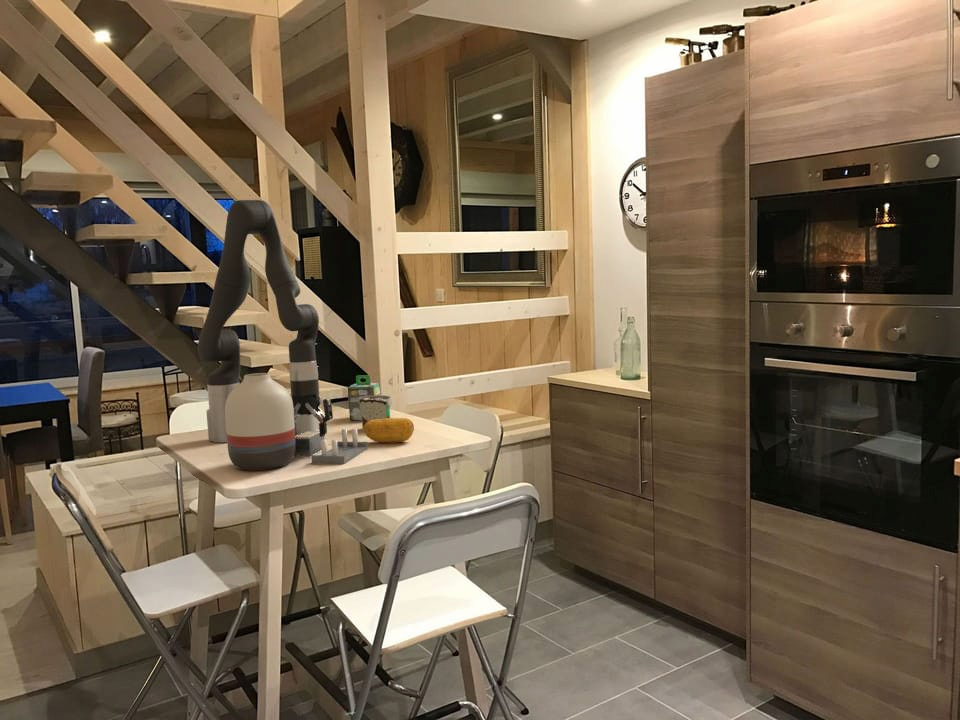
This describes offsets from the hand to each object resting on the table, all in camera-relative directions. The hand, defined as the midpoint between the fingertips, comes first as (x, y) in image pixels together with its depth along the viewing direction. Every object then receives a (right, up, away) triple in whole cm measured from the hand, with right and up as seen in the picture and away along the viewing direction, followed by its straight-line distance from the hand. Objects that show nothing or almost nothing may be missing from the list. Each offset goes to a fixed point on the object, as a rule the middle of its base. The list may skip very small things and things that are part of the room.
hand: (308, 436), depth 213 cm
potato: (+21, -3, +9) cm, 23 cm away
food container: (+16, -1, +31) cm, 35 cm away
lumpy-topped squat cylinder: (-9, -1, +33) cm, 35 cm away
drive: (0, -5, +1) cm, 5 cm away
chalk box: (+9, +1, +49) cm, 50 cm away
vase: (-9, -7, -12) cm, 17 cm away
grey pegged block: (+10, -5, -5) cm, 12 cm away
